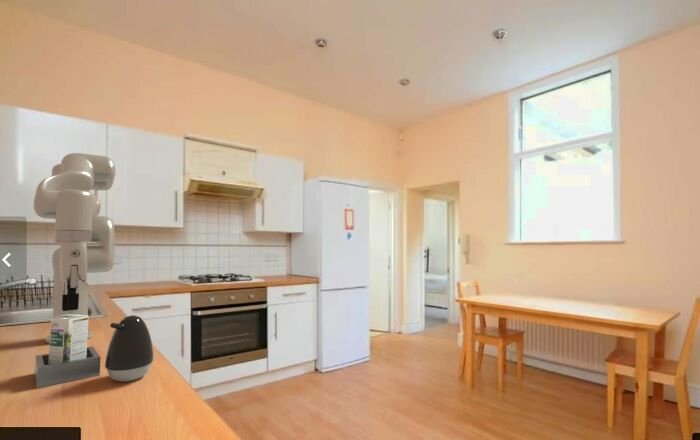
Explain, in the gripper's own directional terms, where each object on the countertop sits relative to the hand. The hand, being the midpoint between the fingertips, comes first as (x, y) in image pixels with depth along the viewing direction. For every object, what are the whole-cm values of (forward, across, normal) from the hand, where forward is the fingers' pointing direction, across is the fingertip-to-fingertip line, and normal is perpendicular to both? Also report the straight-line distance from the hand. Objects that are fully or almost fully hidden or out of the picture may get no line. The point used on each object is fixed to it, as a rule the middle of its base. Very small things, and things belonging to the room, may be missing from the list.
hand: (70, 309), depth 92 cm
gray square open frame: (+16, 0, 0) cm, 16 cm away
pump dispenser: (+16, -13, -11) cm, 24 cm away
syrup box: (+16, 0, 0) cm, 16 cm away
